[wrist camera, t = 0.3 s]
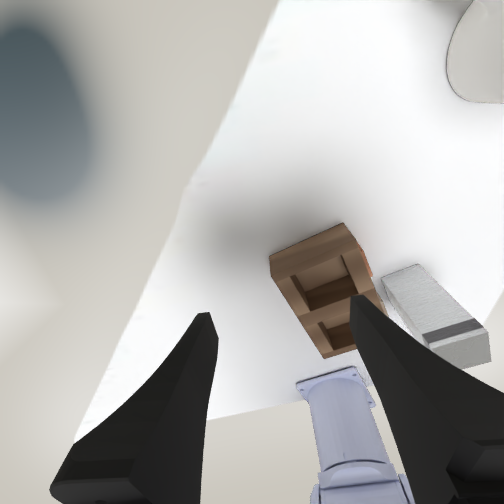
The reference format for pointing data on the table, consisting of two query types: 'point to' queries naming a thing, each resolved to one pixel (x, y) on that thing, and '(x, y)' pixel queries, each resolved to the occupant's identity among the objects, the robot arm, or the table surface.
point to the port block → (325, 286)
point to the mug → (479, 53)
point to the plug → (437, 318)
